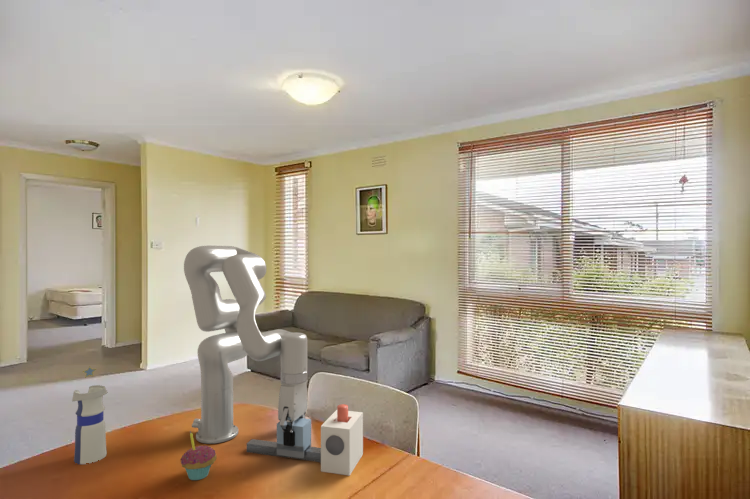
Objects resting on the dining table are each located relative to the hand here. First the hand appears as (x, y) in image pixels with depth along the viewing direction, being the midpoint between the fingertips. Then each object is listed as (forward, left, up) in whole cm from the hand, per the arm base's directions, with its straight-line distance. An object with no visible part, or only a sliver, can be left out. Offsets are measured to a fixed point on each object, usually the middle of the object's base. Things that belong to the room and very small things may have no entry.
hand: (294, 440), depth 122 cm
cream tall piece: (-55, -16, -5) cm, 58 cm away
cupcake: (-19, -16, -5) cm, 26 cm away
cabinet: (+15, 0, -5) cm, 15 cm away
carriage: (0, 0, -3) cm, 3 cm away
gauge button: (+15, 0, +4) cm, 15 cm away
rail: (-2, 0, -5) cm, 5 cm away
